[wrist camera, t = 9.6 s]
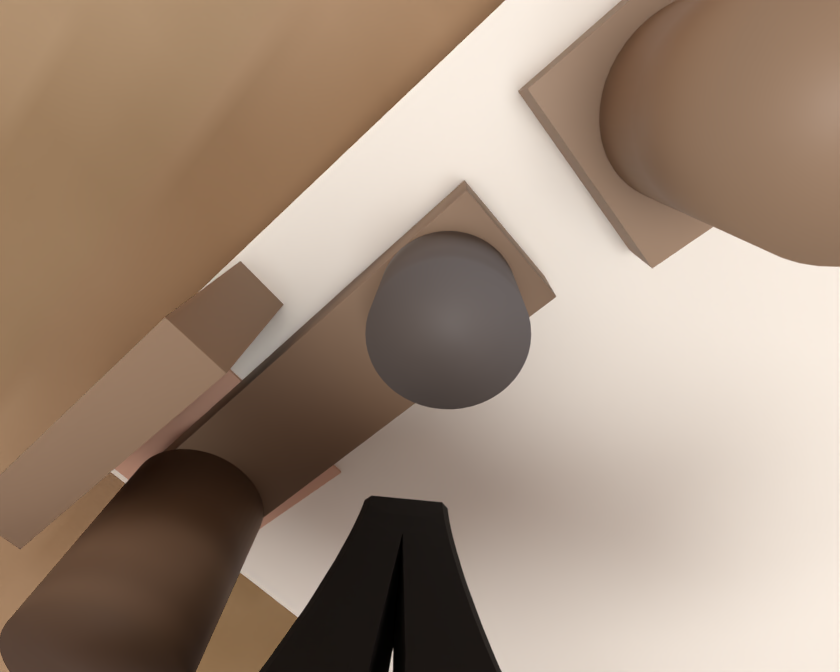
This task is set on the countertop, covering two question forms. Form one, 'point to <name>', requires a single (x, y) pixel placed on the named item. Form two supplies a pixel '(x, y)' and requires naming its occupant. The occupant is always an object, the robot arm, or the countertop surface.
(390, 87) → the countertop surface
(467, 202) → the hinged leg
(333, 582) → the robot arm
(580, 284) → the white board with posts
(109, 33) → the countertop surface
